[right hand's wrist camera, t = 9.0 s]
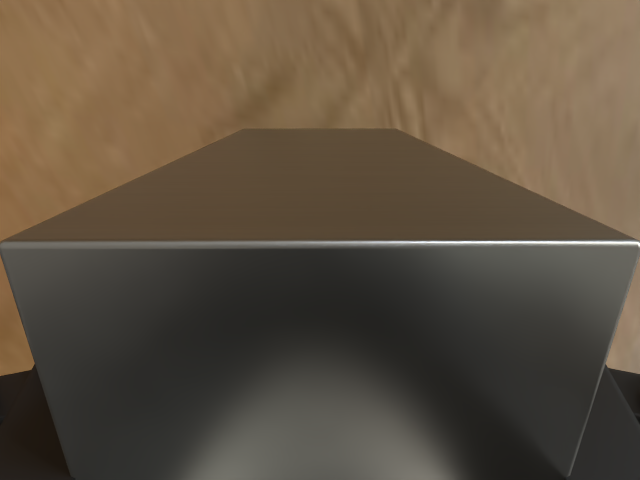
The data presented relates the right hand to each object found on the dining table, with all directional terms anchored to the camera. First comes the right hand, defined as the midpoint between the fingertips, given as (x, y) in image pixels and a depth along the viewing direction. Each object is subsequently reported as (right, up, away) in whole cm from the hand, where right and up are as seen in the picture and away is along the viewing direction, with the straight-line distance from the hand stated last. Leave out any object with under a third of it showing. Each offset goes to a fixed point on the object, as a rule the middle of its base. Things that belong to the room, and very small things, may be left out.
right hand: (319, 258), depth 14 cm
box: (0, -6, +5) cm, 8 cm away
